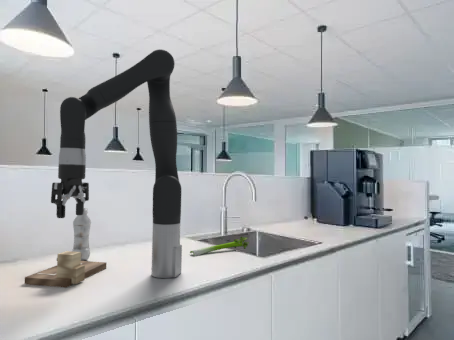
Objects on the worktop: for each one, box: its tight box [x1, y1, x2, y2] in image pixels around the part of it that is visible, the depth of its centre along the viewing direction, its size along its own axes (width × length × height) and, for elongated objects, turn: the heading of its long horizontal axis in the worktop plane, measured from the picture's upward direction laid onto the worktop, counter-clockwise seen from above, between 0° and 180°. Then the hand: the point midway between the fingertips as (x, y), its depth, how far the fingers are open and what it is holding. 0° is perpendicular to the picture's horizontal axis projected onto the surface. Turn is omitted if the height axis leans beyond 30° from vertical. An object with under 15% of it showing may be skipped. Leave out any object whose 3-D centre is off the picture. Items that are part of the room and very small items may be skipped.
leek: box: [189, 236, 250, 257], centre depth 143 cm, size 6×7×30 cm
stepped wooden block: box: [56, 250, 86, 285], centre depth 97 cm, size 8×4×8 cm, turn 80°
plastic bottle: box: [72, 207, 92, 261], centre depth 123 cm, size 6×7×20 cm
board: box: [24, 260, 107, 289], centre depth 104 cm, size 14×21×2 cm, turn 170°
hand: (70, 216), depth 97 cm, fingers open, 8 cm apart
